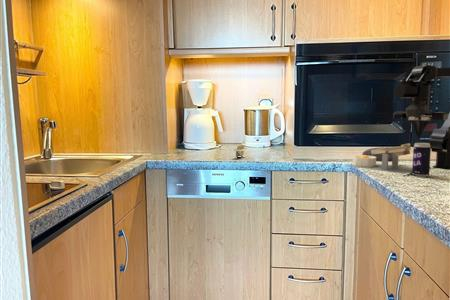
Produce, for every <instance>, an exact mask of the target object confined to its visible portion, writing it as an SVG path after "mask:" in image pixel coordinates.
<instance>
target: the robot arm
mask: <svg viewBox="0 0 450 300" xmlns="http://www.w3.org/2000/svg"><path fill="white" fill-rule="evenodd" d="M437 78H450V67H437V66H436V65H431V64H426V65H419V66H414V67H413V69H412V71H411V72H410V74H409V75H408V77H407V78H406V79H405V80H402V79H401V80H398V84H397V85H396V86H395V88H394V96H395V97H396V98H397V99H412V100H411V102H410V105H409V106H407V107H405V111H395V112H394V113H393V117H392V119H393V120H394V119H396V120H397V119H398V120H401V119H407V122H410V123H411V126H413V129H414V132H415V136H416V138H421V136H422V134H423V132H424V130H425V129H426V127H427V126H428V124H429V123H430V122H432V120H434V121H435V120H436V121H444V123H443V124H442V126H441V127H440V128H434V129H433V131H432V134H431V135H429V141H428V142H429V144H430V146H431V152H433V153H434V152H435V153H436V156H435V157H436V159H435V164H434V165H432V168H437V169H438V168H439V169H447V170H450V112H449V113H448V112H447V111H446V112H445V111H444V112H443V111H438V112H437V111H435V112H432V113H430V111H429V105H430V102H431V100H430V91H431V89H430V87H435V83H434V82H432V80H433V79H437Z"/></svg>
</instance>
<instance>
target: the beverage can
mask: <svg viewBox="0 0 450 300" xmlns="http://www.w3.org/2000/svg"><path fill="white" fill-rule="evenodd" d="M412 150H413V151H412V167H411V168H412V171H411V173H413V174H412V175H414V176H415V177H423V178H425V177H427V176H428V175H430V169H431V155H432V154H431V152H432V150H431V146H430V142H429V143H428V142H414V145H413V149H412Z"/></svg>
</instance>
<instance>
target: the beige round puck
mask: <svg viewBox="0 0 450 300" xmlns="http://www.w3.org/2000/svg"><path fill="white" fill-rule="evenodd" d="M361 156H363V155H362V154H361V155H360V154H359V155H358V154H357V155H353V156H352V164H353V165H354V166H360V167H374V166H376V164H377V161H376V157H374V156H368V157H369V158H360V157H361ZM366 156H367V155H366Z"/></svg>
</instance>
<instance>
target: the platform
mask: <svg viewBox="0 0 450 300" xmlns="http://www.w3.org/2000/svg"><path fill="white" fill-rule="evenodd" d="M245 150H247V147H245V145H243V144H241V145H237V146H236V148H234V149H233V152H235V158H236V157H238V156H243V155H244V154H245V153H244V151H245ZM244 156H245V155H244Z"/></svg>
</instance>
